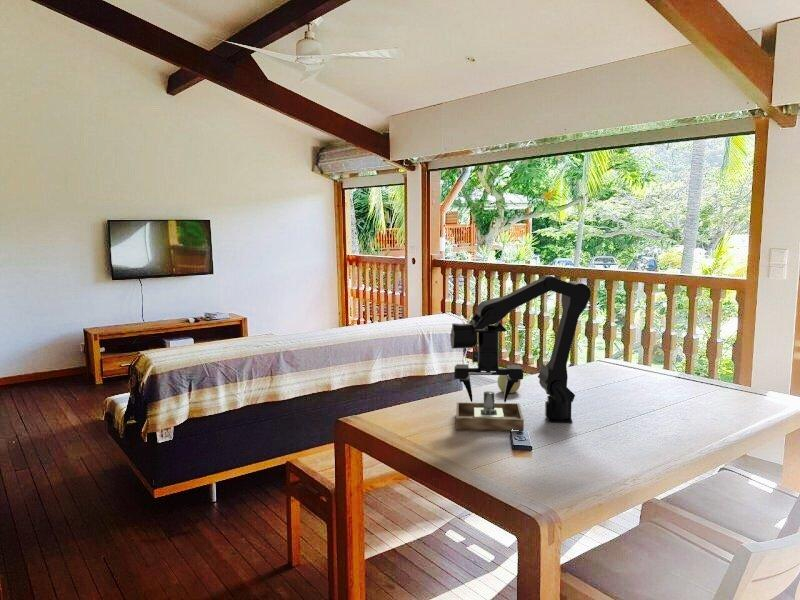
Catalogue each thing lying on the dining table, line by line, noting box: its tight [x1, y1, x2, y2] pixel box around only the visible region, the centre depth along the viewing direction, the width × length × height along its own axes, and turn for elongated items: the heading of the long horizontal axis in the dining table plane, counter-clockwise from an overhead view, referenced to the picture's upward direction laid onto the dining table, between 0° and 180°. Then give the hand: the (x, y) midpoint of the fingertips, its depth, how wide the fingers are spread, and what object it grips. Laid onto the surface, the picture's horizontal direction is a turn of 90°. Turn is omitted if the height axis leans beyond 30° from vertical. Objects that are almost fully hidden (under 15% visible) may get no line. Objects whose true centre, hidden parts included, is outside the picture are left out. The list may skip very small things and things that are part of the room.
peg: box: [483, 390, 495, 415], centre depth 167 cm, size 3×3×8 cm
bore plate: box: [474, 408, 504, 418], centre depth 167 cm, size 8×8×2 cm
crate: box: [455, 401, 525, 433], centre depth 167 cm, size 18×14×4 cm
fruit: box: [497, 375, 521, 394], centre depth 196 cm, size 8×7×8 cm
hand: (488, 401), depth 167 cm, fingers open, 9 cm apart
